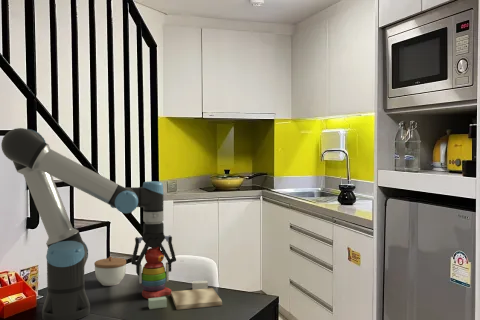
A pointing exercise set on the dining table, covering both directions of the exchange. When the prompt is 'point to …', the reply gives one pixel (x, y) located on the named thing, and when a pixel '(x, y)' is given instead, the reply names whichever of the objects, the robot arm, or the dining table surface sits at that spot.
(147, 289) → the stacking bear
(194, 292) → the birch board
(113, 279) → the lidded bowl
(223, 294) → the dining table surface
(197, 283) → the grey brick
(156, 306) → the sage brick
